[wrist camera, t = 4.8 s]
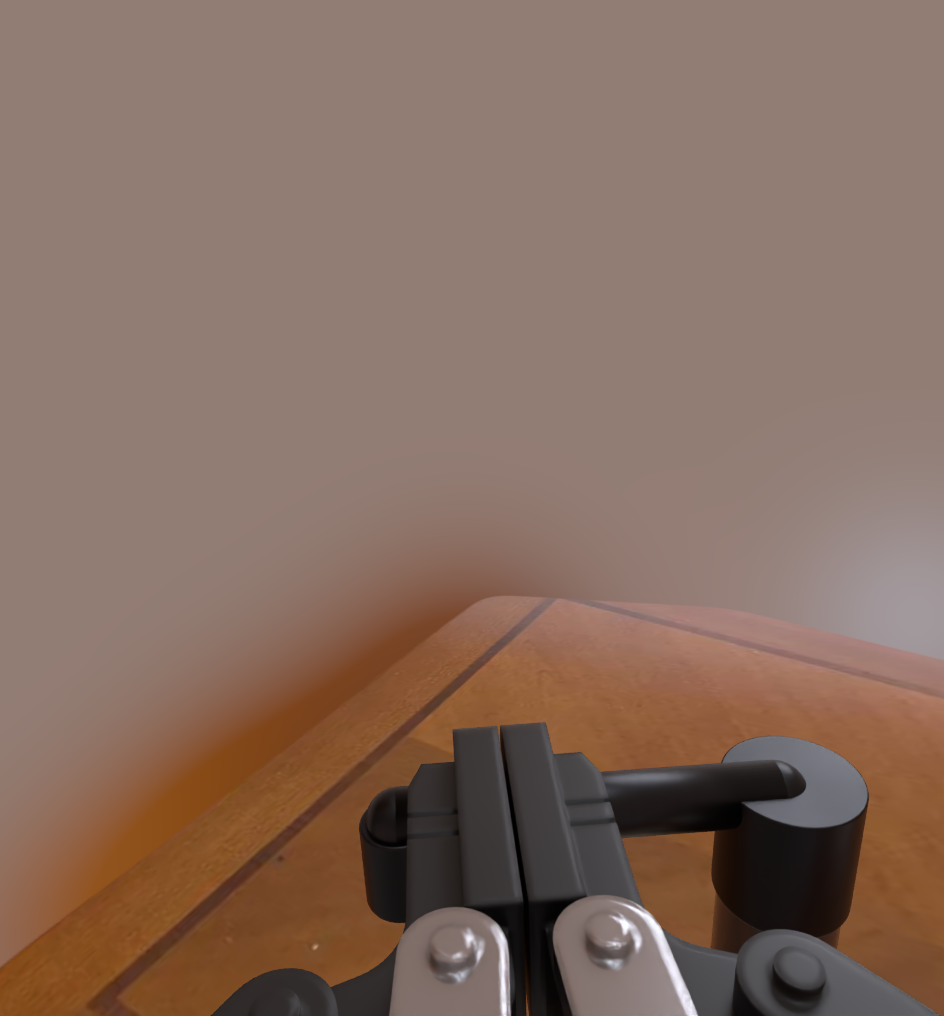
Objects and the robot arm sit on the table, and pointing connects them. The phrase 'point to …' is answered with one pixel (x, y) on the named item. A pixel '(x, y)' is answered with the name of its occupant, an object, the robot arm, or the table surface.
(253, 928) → the table surface
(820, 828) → the spout
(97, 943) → the table surface
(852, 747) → the table surface
